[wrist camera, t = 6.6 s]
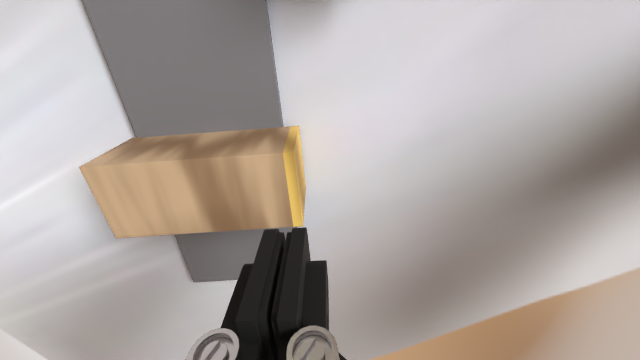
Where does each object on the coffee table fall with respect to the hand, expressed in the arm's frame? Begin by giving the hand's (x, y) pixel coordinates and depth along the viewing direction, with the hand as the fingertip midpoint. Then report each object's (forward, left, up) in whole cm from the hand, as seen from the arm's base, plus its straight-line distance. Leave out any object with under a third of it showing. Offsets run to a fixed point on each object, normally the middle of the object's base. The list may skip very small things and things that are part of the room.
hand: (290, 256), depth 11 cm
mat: (+6, 0, -11) cm, 13 cm away
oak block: (0, 0, -8) cm, 8 cm away
